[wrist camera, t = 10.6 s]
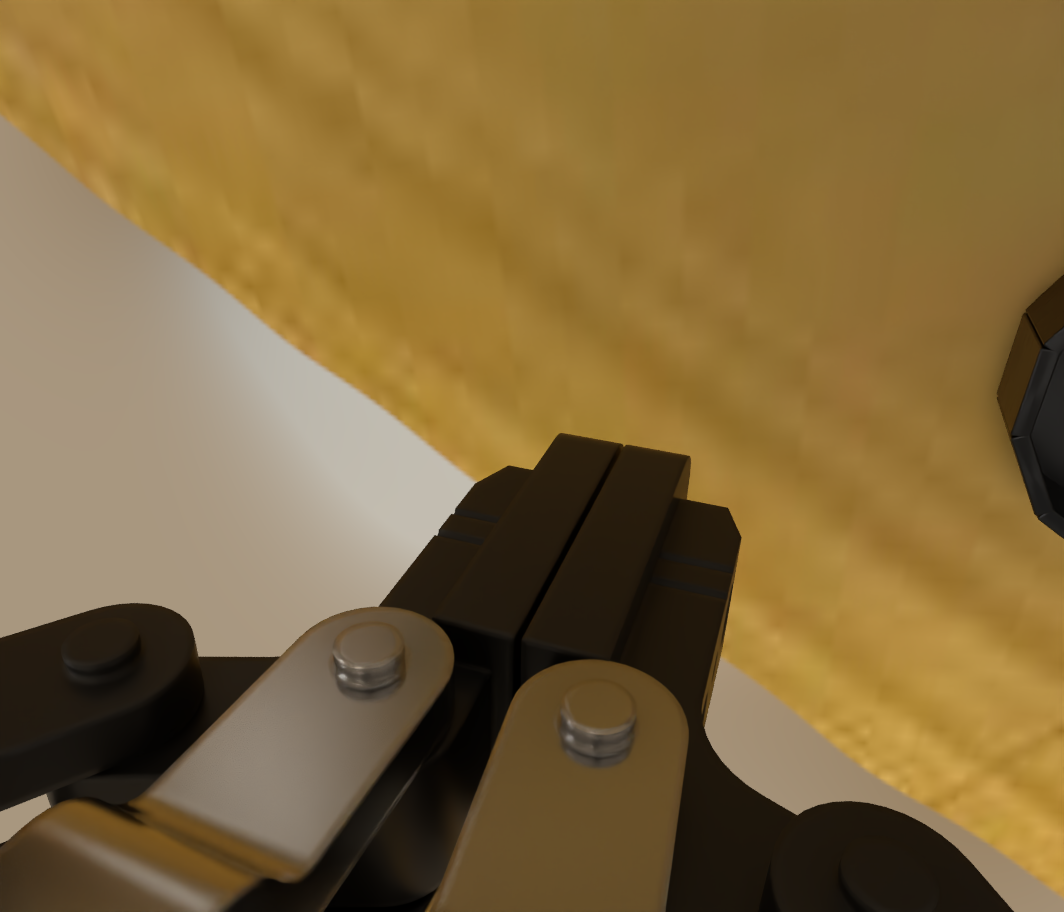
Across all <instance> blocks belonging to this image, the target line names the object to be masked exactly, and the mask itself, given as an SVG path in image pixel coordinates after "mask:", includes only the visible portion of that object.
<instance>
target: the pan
mask: <svg viewBox="0 0 1064 912" xmlns="http://www.w3.org/2000/svg"><path fill="white" fill-rule="evenodd" d="M1026 311H1027V313H1024V314H1023V316H1022V319H1021V322H1020V325H1019V328H1018V331H1017V334H1016V337H1015V340H1014V343H1013V346H1012V349H1011V352H1010V355H1009V358H1008V361H1007V364H1006V367H1005V370H1004V373H1003V376H1002V379H1001V382H1000V385H999V388H998V391H997V395H998V397H997V400H998V403H999V406H1000V410H1001V413H1002V416H1003V419H1004V422H1005V425H1006V428H1007V431H1008V434H1009V438H1010V441H1011V444H1012V447H1013V450H1014V453H1015V456H1016V459H1017V462H1018V466H1019V469H1020V472H1021V475H1022V478H1023V481H1024V484H1025V487H1026V490H1027V493H1028V496H1029V499H1030V502H1031V505H1032V508H1033V511H1034V514H1035V515H1036V516H1037V518H1038V520H1040V521H1041V522H1042V523H1044V524H1045V525H1046V526H1048V527H1049V528H1050V529H1051V530H1053V531H1054V532H1055V533H1057V534H1058V535H1059V536H1061V537H1062V538H1063V539H1064V275H1063V276H1062V277H1061V278H1060V279H1059V280H1058V281H1057V282H1055V283H1054V284H1053V285H1052V286H1051V287H1050V288H1049V289H1048V290H1047V291H1046V292H1045V293H1043V294H1042V295H1041V296H1040V297H1039V298H1038V299H1037V300H1036V301H1035V302H1034V303H1033V304H1031V305H1030V306H1029V307H1028V308H1027V309H1026Z"/></svg>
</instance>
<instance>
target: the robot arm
mask: <svg viewBox="0 0 1064 912" xmlns="http://www.w3.org/2000/svg"><path fill="white" fill-rule="evenodd" d="M690 467H691V458H690V456H687V455H682V454H676V453H671V452H665V451H660V450H654V449H649V448H643V447H638V446H632V445H626V446H625V447H624V446H623V445H622V444H620V443H614V442H609V441H603V440H598V439H592V438H587V437H581V436H575V435H570V434H564V433H560V434H558V435H557V437H556V438H555V439H554V441H553V442H552V444H551V445H550V447H549V448H548V449H547V451H546V452H545V454H544V455H543V457H542V458H541V460H540V461H539V463H538V464H537V465H536V467H535V468H534V470H529V469H524V468H519V467H514V466H507V467H505V468H503V469H501V470H500V471H498V472H496V473H494V474H492V475H490V476H488V477H487V478H485V479H483V480H481V481H479V482H477V483H476V484H474V486H473V487H472V488H471V490H470V491H469V492H468V493H467V495H466V496H465V497H464V499H463V500H462V501H461V502H460V504H459V505H458V506H457V507H456V509H455V513H454V514H451V515H450V516H449V518H448V519H447V520H446V521H445V523H444V524H443V525H442V526H441V528H440V529H439V533H438V536H436V535H435V536H434V537H433V538H432V539H431V540H430V542H429V543H428V545H427V546H426V547H425V548H424V549H423V551H422V552H421V553H420V554H419V556H418V557H417V558H416V560H415V561H414V562H413V563H412V565H411V566H410V567H409V568H408V570H407V571H406V573H405V574H404V575H403V576H402V577H401V579H400V580H399V581H398V582H397V584H396V585H395V586H394V588H393V589H392V590H391V591H390V593H389V594H388V595H387V597H386V598H385V599H384V600H383V602H382V603H381V604H380V605H379V607H367V608H359V609H354V610H350V611H346V612H343V613H340V614H337V615H334V616H331V617H329V618H327V619H325V620H323V621H321V622H319V623H318V624H316V625H315V626H313V627H311V628H310V629H309V630H308V631H306V632H305V633H304V634H303V635H302V636H301V637H299V639H297V641H295V643H294V644H292V646H290V647H289V648H288V649H287V650H286V652H285V653H284V654H283V655H281V656H280V657H198V653H197V648H196V644H195V638H194V635H193V631H192V628H191V626H190V625H189V623H188V622H187V620H186V619H184V618H183V617H182V616H181V615H180V614H178V613H176V612H174V611H173V610H170V609H168V608H165V607H162V606H157V605H152V604H140V603H130V604H118V605H111V606H106V607H101V608H98V609H94V610H90V611H87V612H84V613H80V614H77V615H74V616H70V617H67V618H64V619H61V620H57V621H54V622H51V623H48V624H44V625H41V626H38V627H35V628H31V629H28V630H25V631H22V632H19V633H15V634H12V635H9V636H6V637H2V638H0V811H3V810H5V809H8V808H10V807H13V806H15V805H18V804H20V803H23V802H26V801H28V800H31V799H33V798H36V797H38V796H41V795H44V794H47V797H48V800H49V802H50V805H51V808H49V809H47V810H46V811H44V812H43V813H41V814H40V815H38V816H36V817H35V818H34V819H32V820H31V821H30V822H29V823H28V824H26V825H25V826H24V827H23V828H21V830H19V831H18V832H17V833H16V834H15V835H14V836H12V837H11V839H9V840H8V841H6V842H3V843H1V844H0V912H1014V911H1013V910H1012V909H1011V908H1010V907H1009V906H1008V904H1007V903H1006V902H1005V901H1004V900H1003V899H1002V898H1001V897H1000V895H999V894H998V893H997V892H996V891H995V890H994V888H993V887H992V886H991V885H990V884H989V883H988V881H987V880H986V879H985V878H984V877H983V876H982V874H981V873H980V872H979V871H978V870H977V869H976V868H975V866H974V865H973V864H972V863H971V862H970V861H969V860H968V859H967V858H966V857H965V856H964V855H963V854H962V853H961V852H960V851H959V850H958V849H957V848H956V847H955V846H954V845H953V844H952V843H950V842H949V841H948V840H947V839H945V838H944V837H943V836H942V835H940V834H939V833H937V832H936V831H934V830H933V829H931V828H930V827H928V826H927V825H925V824H923V823H922V822H920V821H918V820H916V819H914V818H912V817H909V816H908V815H906V814H903V813H900V812H898V811H895V810H892V809H889V808H887V807H883V806H878V805H874V804H870V803H863V802H852V801H844V802H831V803H827V804H821V805H817V806H815V807H812V808H810V809H807V810H805V811H803V812H802V813H800V814H799V815H796V814H794V813H792V812H790V811H789V810H787V809H785V808H783V807H782V806H780V805H778V804H776V803H775V802H773V801H771V800H770V799H768V798H766V797H765V796H763V795H761V794H760V793H758V792H757V791H755V790H754V789H752V788H751V787H749V786H748V785H746V784H745V783H744V782H743V781H742V780H740V779H739V778H738V777H737V776H735V775H734V774H733V773H732V772H731V771H730V770H729V768H727V766H726V765H725V764H724V763H723V762H722V761H721V759H720V758H719V757H718V755H717V754H716V752H715V751H714V750H713V748H712V746H711V744H710V742H709V740H708V738H707V736H706V733H705V729H704V727H705V722H706V718H707V713H708V708H709V705H710V700H711V696H712V691H713V687H714V681H715V678H716V674H717V669H718V665H719V660H720V656H721V652H722V647H723V642H724V636H725V630H726V624H727V618H728V613H729V607H730V601H731V595H732V589H733V583H734V578H735V572H736V566H737V560H738V554H739V549H740V543H741V536H740V533H739V531H738V529H737V527H736V524H735V522H734V520H733V518H732V516H731V513H730V511H729V509H728V508H726V507H721V506H716V505H710V504H705V503H700V502H695V501H690V500H687V492H688V485H689V477H690Z"/></svg>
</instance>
